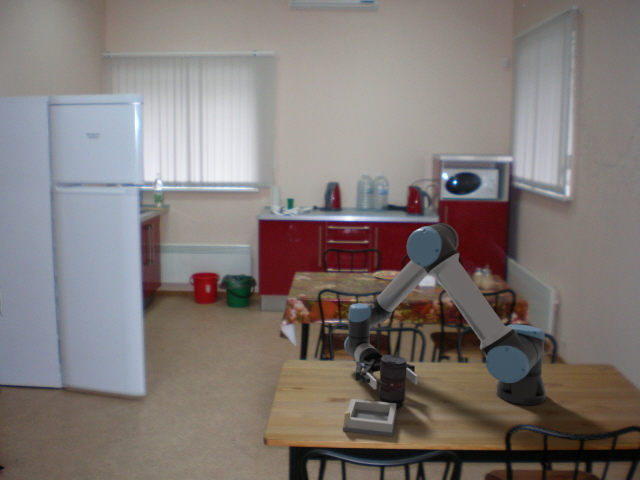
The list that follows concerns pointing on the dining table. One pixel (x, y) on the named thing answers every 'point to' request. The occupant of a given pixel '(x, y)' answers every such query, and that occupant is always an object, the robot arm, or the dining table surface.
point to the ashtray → (370, 417)
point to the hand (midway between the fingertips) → (396, 382)
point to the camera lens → (392, 379)
